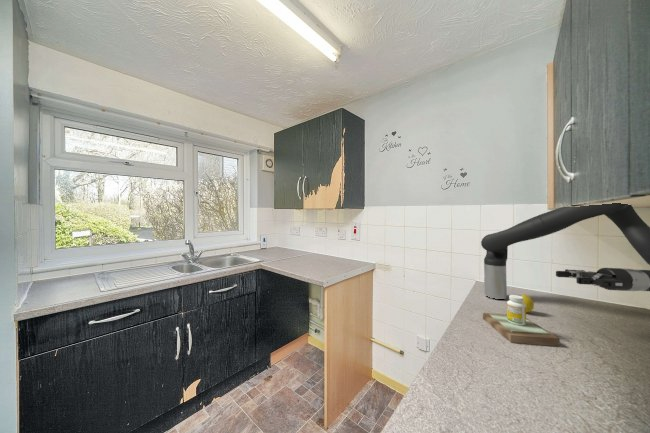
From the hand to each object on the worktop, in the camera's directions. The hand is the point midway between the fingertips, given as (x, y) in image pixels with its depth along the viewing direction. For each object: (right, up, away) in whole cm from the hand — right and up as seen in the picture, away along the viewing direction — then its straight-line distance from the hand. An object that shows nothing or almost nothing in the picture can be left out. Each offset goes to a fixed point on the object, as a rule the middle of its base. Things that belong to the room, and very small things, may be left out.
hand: (566, 277), depth 80 cm
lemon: (+1, -21, +18) cm, 27 cm away
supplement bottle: (-16, -18, +3) cm, 24 cm away
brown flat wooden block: (-16, -21, +3) cm, 26 cm away
